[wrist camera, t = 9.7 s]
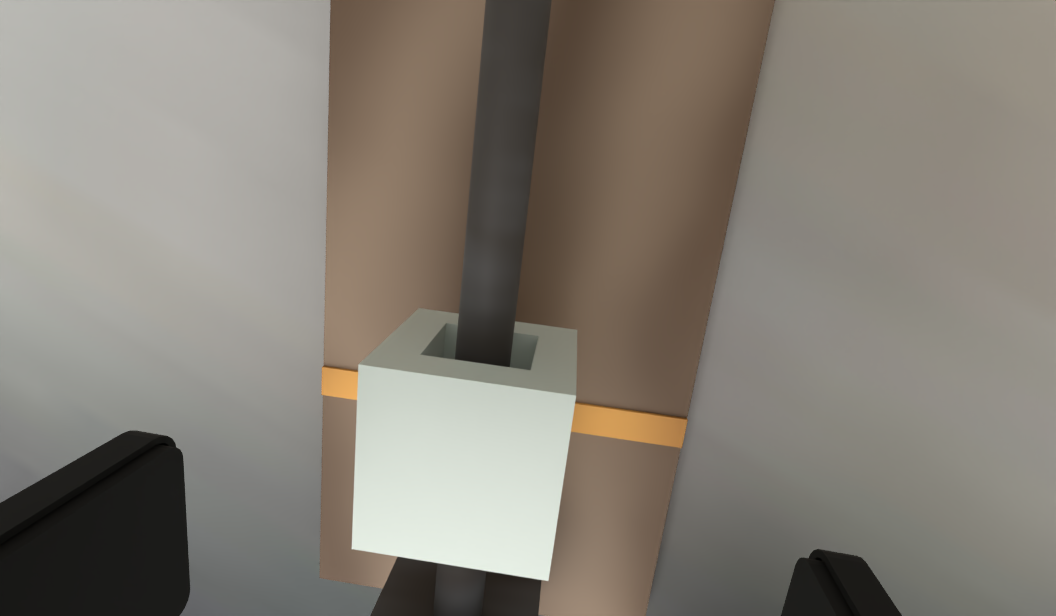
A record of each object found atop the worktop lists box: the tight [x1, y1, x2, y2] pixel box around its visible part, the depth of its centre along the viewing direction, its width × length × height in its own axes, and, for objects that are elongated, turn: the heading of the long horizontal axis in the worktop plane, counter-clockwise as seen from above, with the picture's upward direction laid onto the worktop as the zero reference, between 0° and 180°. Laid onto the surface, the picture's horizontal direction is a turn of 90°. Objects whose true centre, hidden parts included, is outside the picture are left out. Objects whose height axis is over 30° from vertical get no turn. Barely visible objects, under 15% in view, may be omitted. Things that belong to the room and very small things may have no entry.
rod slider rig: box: [320, 0, 775, 616], centre depth 14 cm, size 12×28×10 cm, turn 173°
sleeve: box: [352, 308, 577, 581], centre depth 13 cm, size 4×4×4 cm
